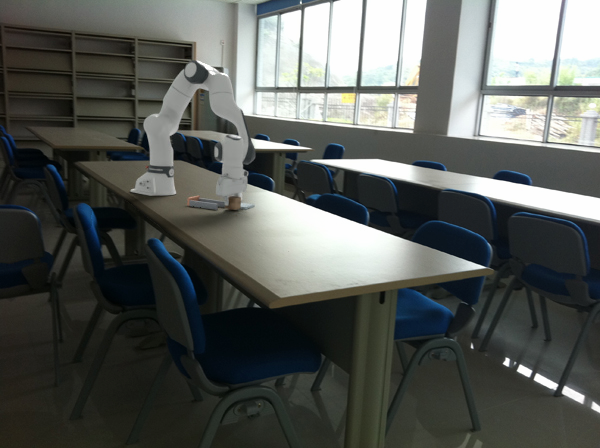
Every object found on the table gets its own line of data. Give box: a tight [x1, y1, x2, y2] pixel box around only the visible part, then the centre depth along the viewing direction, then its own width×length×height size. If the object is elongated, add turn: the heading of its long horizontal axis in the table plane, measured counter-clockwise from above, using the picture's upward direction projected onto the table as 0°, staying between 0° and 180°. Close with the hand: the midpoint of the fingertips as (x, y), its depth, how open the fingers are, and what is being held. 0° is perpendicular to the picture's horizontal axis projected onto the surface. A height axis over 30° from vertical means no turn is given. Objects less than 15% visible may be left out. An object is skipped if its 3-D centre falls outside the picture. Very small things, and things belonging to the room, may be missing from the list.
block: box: [224, 196, 242, 211], centre depth 228 cm, size 5×5×5 cm
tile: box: [240, 202, 255, 210], centre depth 237 cm, size 9×9×1 cm
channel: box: [187, 195, 225, 211], centre depth 233 cm, size 15×8×4 cm, turn 68°
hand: (231, 204), depth 228 cm, fingers closed on block, 5 cm apart
